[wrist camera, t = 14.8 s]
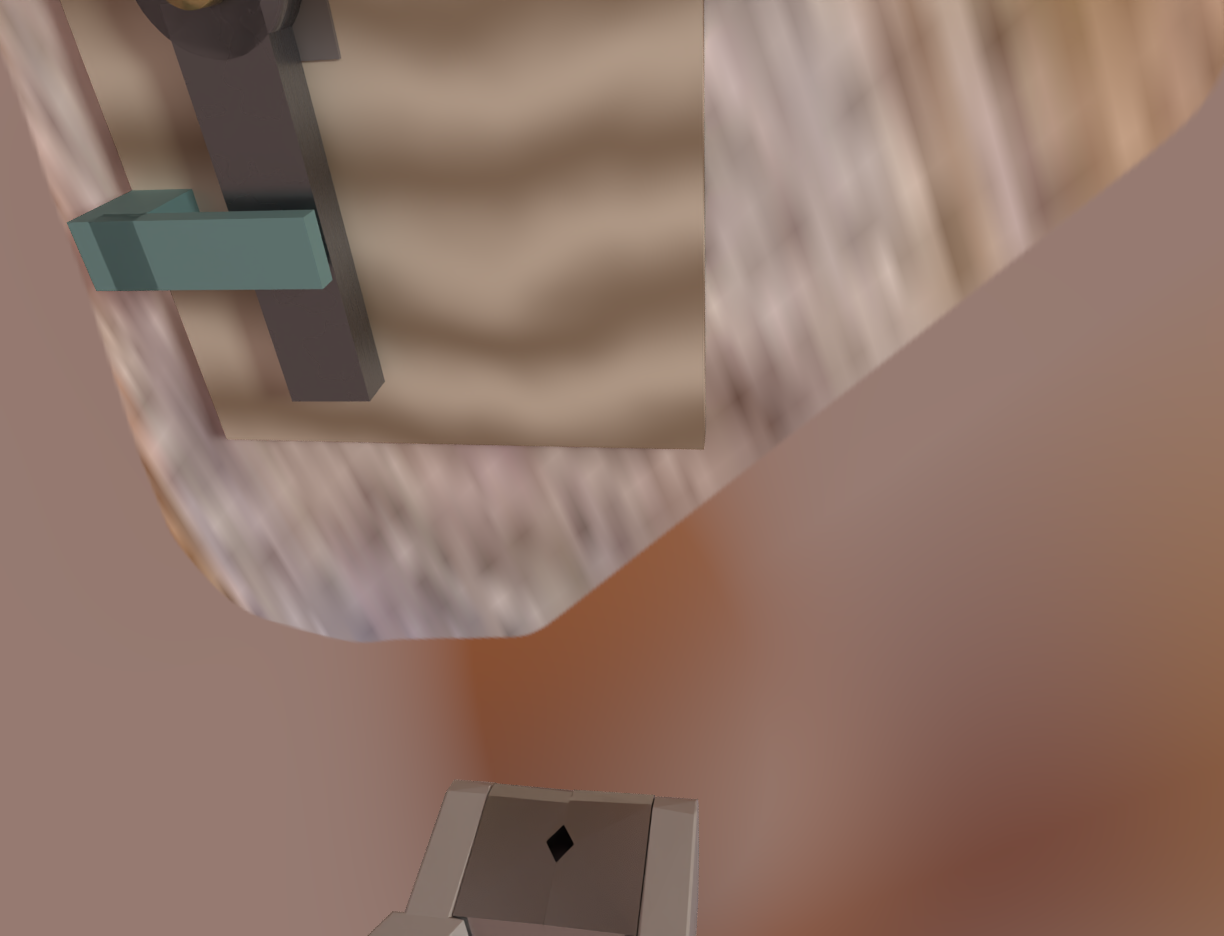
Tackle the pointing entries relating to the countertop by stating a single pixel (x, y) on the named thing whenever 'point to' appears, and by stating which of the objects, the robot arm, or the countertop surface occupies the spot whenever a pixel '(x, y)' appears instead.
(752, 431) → the countertop surface
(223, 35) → the lever
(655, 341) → the board
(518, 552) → the countertop surface
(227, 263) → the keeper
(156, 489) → the countertop surface
